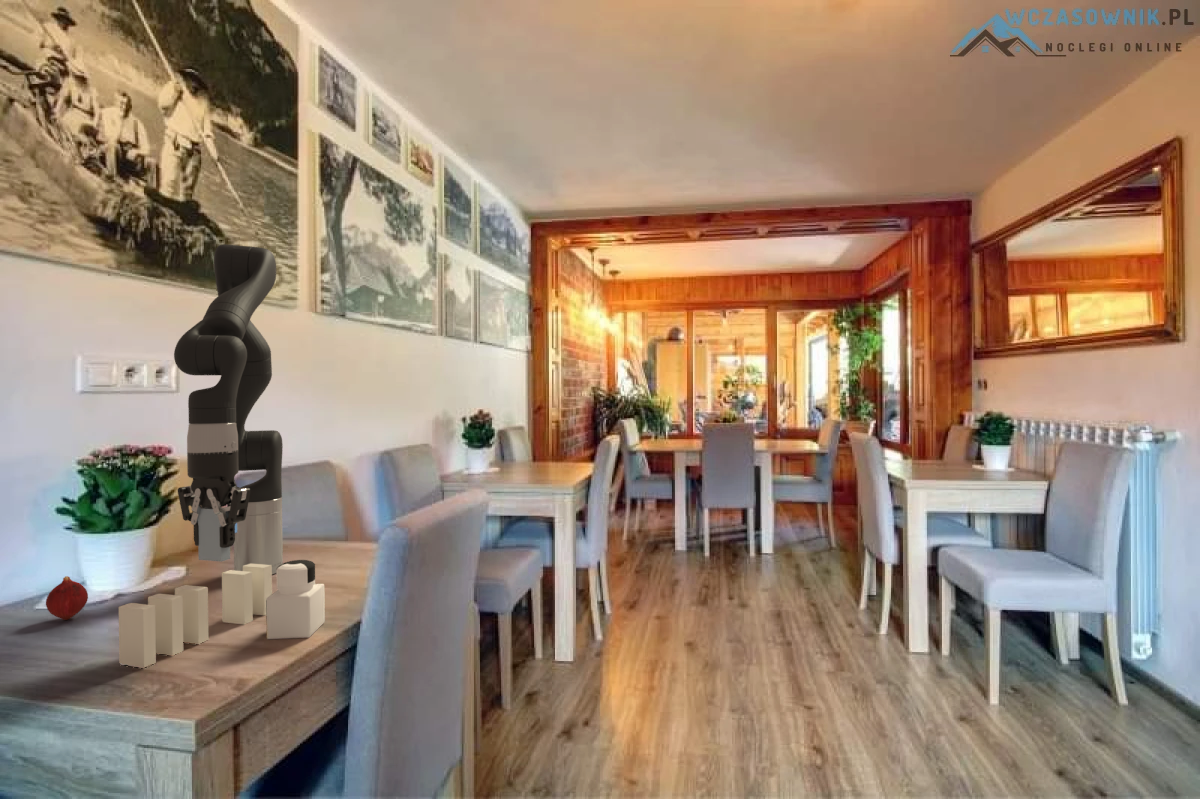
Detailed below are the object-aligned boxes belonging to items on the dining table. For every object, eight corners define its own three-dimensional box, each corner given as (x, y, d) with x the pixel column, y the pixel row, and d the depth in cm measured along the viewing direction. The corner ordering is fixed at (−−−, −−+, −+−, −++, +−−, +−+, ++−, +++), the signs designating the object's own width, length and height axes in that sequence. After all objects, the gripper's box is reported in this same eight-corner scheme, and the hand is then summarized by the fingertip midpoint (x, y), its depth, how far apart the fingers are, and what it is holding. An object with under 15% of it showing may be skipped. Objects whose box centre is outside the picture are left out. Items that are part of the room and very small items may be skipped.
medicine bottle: (284, 624, 107) (283, 557, 107) (325, 622, 108) (324, 556, 108) (265, 640, 100) (264, 569, 100) (309, 638, 101) (308, 567, 101)
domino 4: (198, 559, 104) (197, 508, 104) (207, 557, 106) (207, 506, 106) (221, 561, 103) (220, 509, 103) (230, 558, 104) (229, 507, 104)
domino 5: (222, 622, 108) (221, 572, 108) (231, 618, 110) (230, 570, 110) (244, 624, 107) (243, 574, 107) (252, 620, 109) (252, 571, 109)
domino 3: (175, 641, 100) (174, 588, 100) (185, 637, 102) (184, 585, 101) (198, 644, 98) (198, 590, 98) (208, 640, 100) (207, 587, 100)
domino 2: (148, 653, 95) (147, 597, 95) (159, 648, 97) (158, 593, 97) (172, 656, 94) (171, 599, 94) (183, 651, 96) (182, 595, 96)
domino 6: (243, 613, 113) (242, 566, 113) (251, 609, 115) (250, 563, 114) (264, 615, 111) (264, 567, 111) (272, 612, 113) (271, 565, 113)
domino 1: (119, 665, 91) (118, 606, 91) (131, 660, 93) (130, 602, 93) (144, 668, 90) (143, 609, 90) (155, 663, 92) (155, 605, 91)
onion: (95, 615, 112) (94, 573, 112) (59, 627, 107) (58, 582, 107) (75, 612, 114) (74, 570, 114) (38, 623, 109) (38, 579, 109)
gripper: (160, 450, 102) (162, 548, 103) (227, 451, 99) (228, 554, 99) (200, 446, 110) (201, 538, 110) (263, 447, 106) (264, 543, 106)
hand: (214, 545), depth 104 cm, fingers closed on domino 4, 5 cm apart
